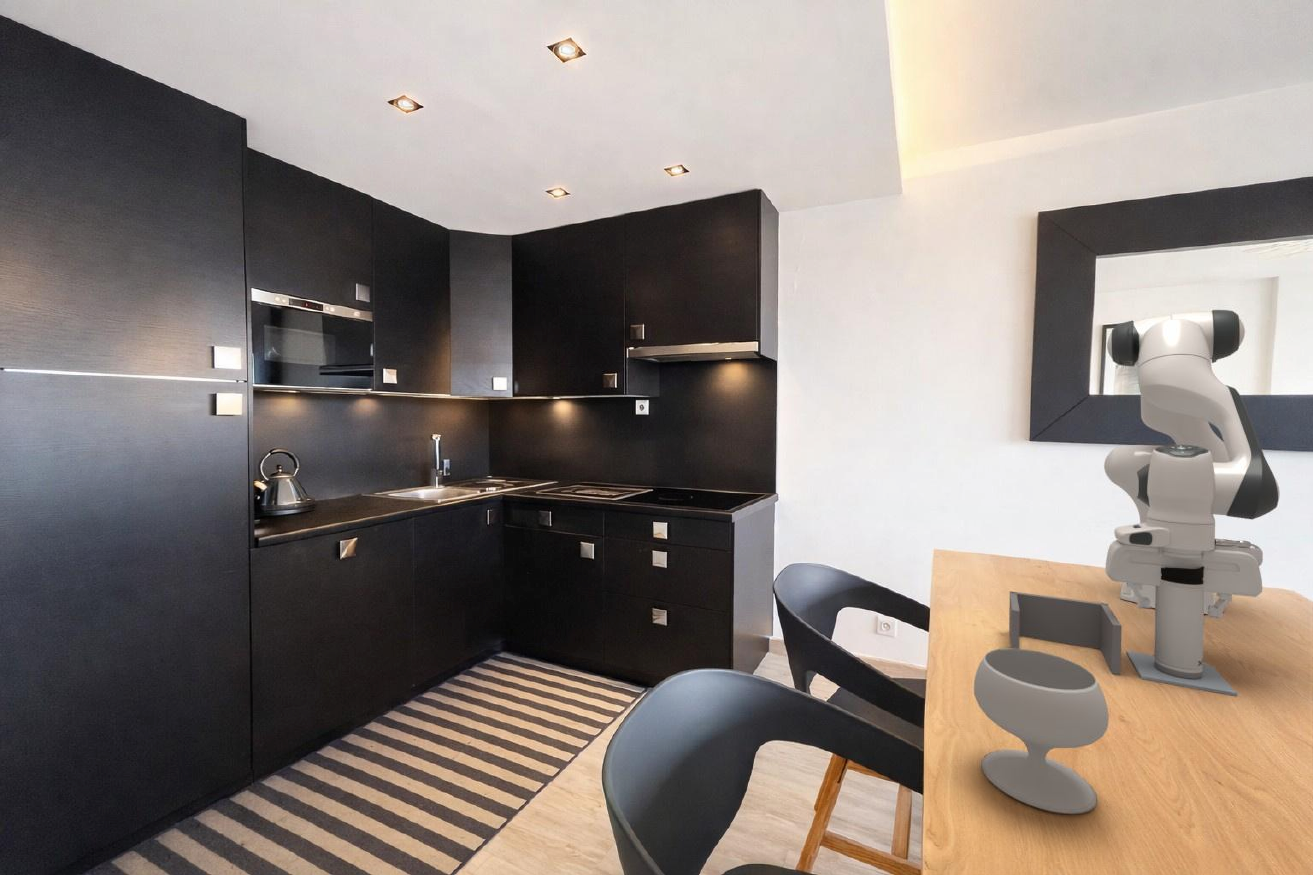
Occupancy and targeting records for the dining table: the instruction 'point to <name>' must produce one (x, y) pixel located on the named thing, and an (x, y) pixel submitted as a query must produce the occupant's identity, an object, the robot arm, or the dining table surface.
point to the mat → (1207, 682)
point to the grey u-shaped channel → (1066, 624)
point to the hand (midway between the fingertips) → (1178, 612)
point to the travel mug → (1179, 622)
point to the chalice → (1040, 725)
